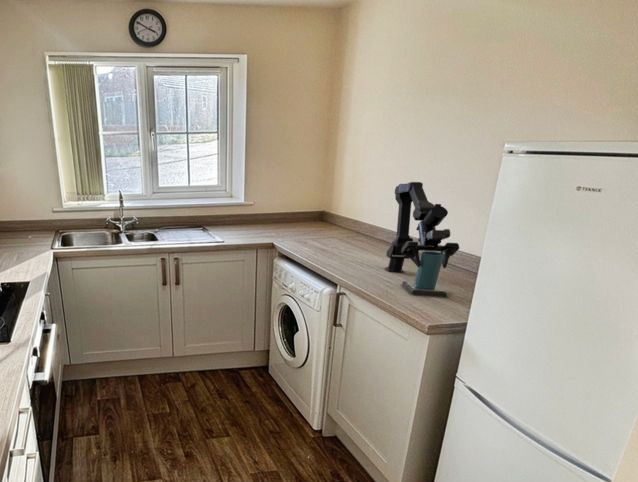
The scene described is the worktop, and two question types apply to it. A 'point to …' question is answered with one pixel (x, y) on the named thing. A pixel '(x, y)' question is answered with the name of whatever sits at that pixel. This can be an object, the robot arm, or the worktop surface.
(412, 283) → the pan
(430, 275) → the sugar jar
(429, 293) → the scale
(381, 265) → the worktop surface
